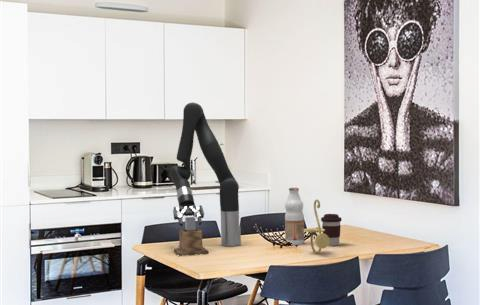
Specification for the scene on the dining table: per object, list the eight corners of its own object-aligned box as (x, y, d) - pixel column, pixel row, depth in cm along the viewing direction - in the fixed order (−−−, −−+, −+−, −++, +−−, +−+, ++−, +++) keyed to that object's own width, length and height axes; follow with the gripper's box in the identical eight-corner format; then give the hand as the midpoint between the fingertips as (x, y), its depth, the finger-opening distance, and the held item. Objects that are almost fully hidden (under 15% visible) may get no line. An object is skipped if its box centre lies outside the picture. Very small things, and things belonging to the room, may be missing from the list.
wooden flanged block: (202, 249, 292) (202, 227, 292) (208, 253, 280) (208, 231, 280) (173, 251, 288) (173, 229, 288) (178, 256, 276) (178, 233, 276)
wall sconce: (332, 255, 270) (331, 199, 270) (312, 257, 268) (311, 200, 267) (320, 250, 284) (319, 197, 283) (301, 251, 281) (300, 198, 281)
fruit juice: (284, 245, 300) (283, 188, 299) (286, 242, 309) (285, 187, 309) (303, 245, 298) (302, 188, 298) (305, 242, 307) (304, 187, 307)
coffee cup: (344, 243, 300) (343, 213, 300) (338, 247, 291) (338, 216, 291) (324, 242, 304) (324, 213, 304) (318, 246, 295) (318, 215, 295)
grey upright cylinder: (193, 238, 287) (193, 217, 286) (195, 239, 283) (195, 218, 283) (185, 238, 285) (185, 217, 285) (187, 239, 282) (186, 218, 281)
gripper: (171, 193, 289) (176, 220, 278) (200, 192, 293) (207, 219, 282) (170, 203, 294) (174, 230, 283) (198, 202, 298) (204, 228, 287)
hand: (191, 224), depth 283 cm, fingers open, 8 cm apart
